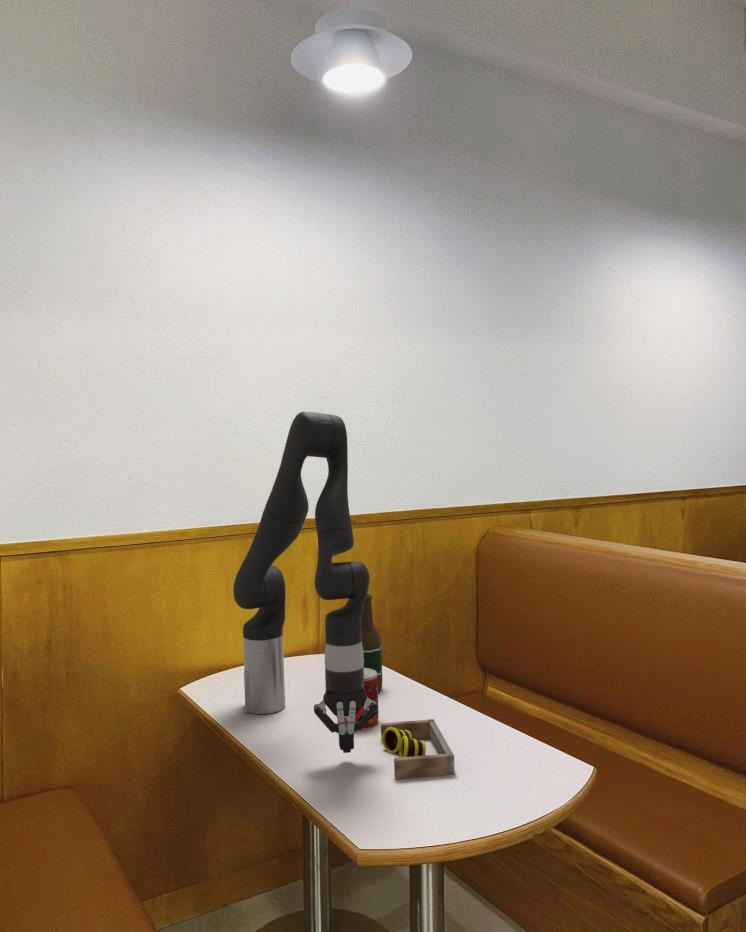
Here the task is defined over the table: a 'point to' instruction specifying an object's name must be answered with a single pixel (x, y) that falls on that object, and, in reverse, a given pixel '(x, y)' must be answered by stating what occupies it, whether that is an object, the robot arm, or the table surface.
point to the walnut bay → (427, 763)
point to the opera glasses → (402, 743)
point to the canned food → (369, 695)
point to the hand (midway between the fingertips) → (346, 751)
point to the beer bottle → (371, 641)
